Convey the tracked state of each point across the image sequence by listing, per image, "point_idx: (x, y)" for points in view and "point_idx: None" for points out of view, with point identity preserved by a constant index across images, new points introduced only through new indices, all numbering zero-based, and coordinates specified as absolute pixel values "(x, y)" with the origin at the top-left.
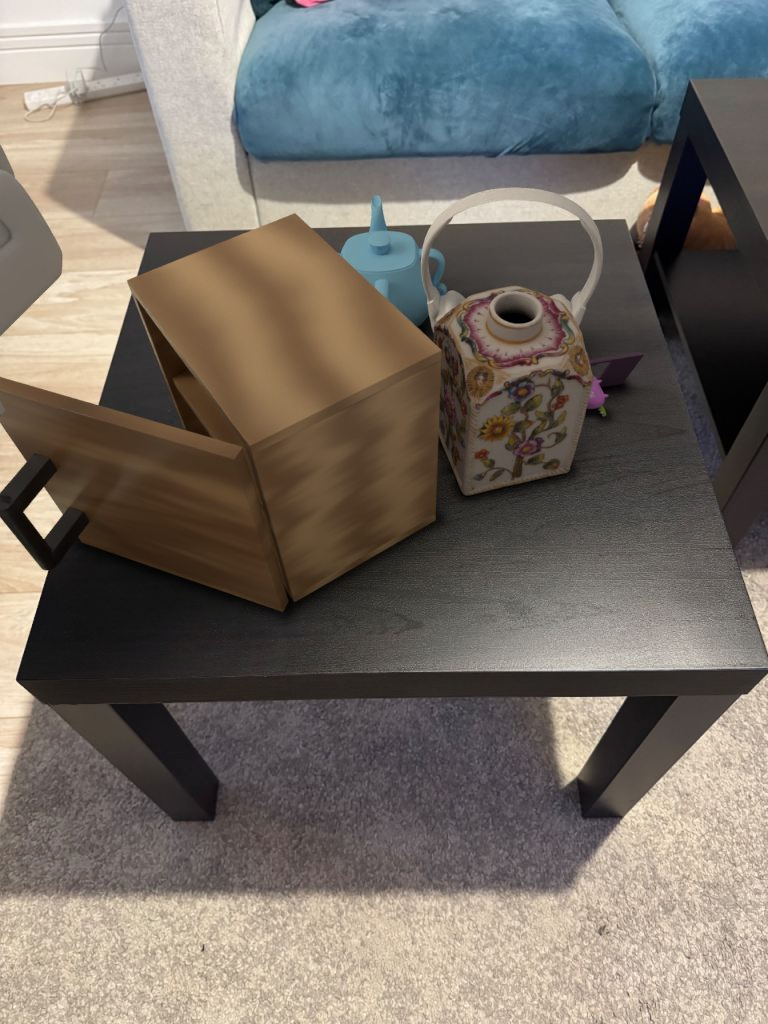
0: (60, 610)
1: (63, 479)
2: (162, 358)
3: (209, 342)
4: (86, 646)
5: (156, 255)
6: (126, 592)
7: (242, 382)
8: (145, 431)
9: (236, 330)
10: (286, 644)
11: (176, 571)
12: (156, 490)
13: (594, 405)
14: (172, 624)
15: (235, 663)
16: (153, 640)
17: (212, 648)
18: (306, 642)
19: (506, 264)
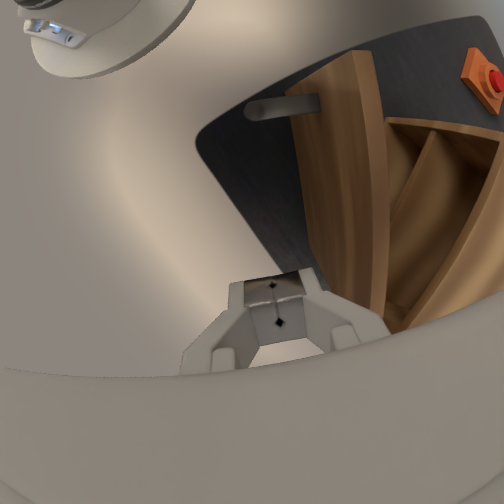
0: (233, 119)
1: (312, 113)
2: (449, 132)
3: (470, 265)
4: (223, 155)
5: (478, 17)
6: (270, 149)
7: (435, 318)
8: (372, 295)
9: (481, 273)
10: (292, 260)
11: (300, 174)
12: (337, 233)
13: None
14: (267, 193)
15: (267, 243)
16: (252, 190)
17: (268, 226)
18: (299, 268)
19: None
